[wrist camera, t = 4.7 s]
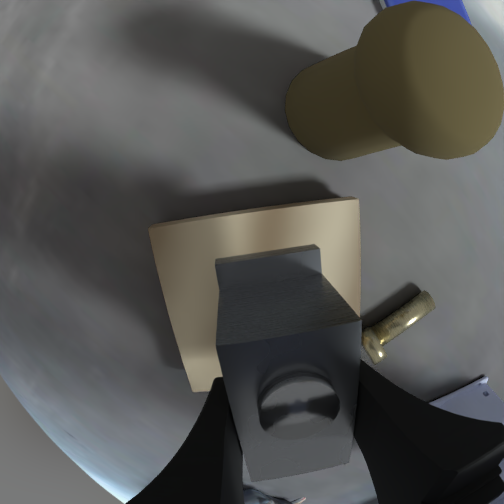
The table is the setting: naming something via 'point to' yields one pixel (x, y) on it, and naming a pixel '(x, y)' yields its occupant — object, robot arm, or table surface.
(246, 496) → the brake caliper
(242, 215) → the stand
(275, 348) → the housing
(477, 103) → the cork
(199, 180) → the table surface
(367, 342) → the loose bolt
